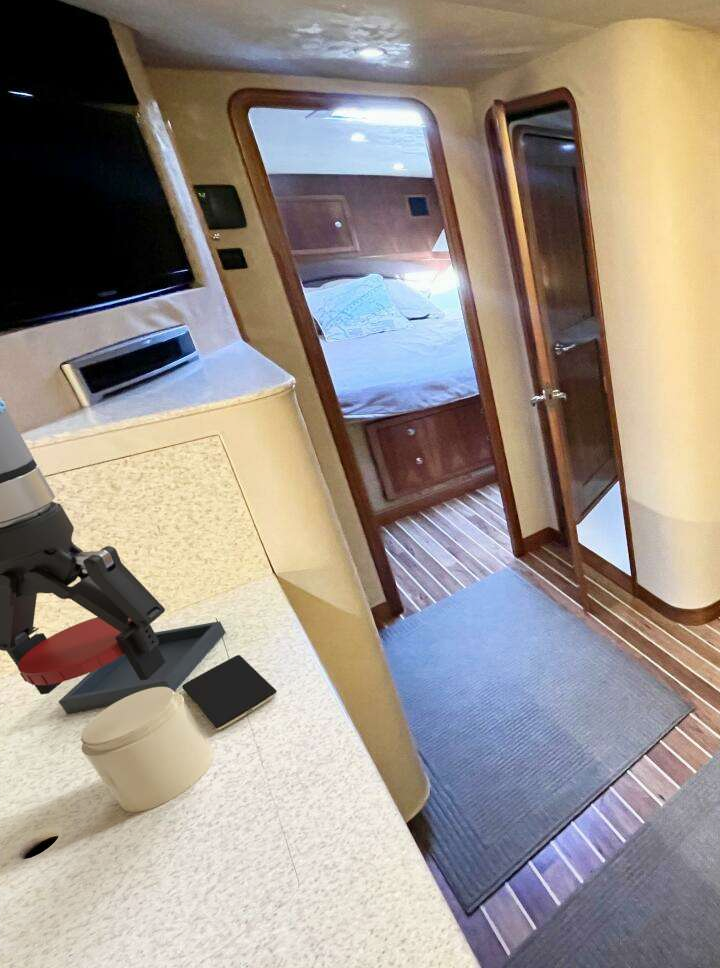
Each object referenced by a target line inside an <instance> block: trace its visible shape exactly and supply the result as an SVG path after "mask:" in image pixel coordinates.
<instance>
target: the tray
mask: <svg viewBox="0 0 720 968" xmlns="http://www.w3.org/2000/svg"><path fill="white" fill-rule="evenodd" d="M154 632H155V634H156V637H157V638H158V640H159V644H157V647H158V649H159V651H160V653H161V654H162V656H163V658H164V660H165V661H166V662H165V663H164V664H163V665H162V666H161V667H160V668H159V669H158V670H157V671H156V672H155V673H154V674H153V675H152V676H151V677H150V678H149V679H148V680H140V679H139V677H138V675H137V674H136V672H135V670H134V669H133V667H132V665H131V664H130V662H129V660H128V659H127V657H126V655H125V654H124V655H122V656H121V657H119V658H117V659H116V660H114V661H112V662H110V663H108V664H107V665H105V666H103V667H101V668H98V669H96V670H94V671H92V672H89V673H87V674H86V676H84V677H83V678H82V679H81V680H80V681H78V683H77V684H76V685H74V687H73V688H72V689H70V690H69V691H68V692H67V693H66V694H65V695H64V696H62V698H61V699H59V700H58V703H59V705H60V706H61V708H62V709H63V710H64V712H65V714H67V715H69V714H75V713H79V712H84V711H91V710H94V709H101V708H104V707H105V708H107V707H109V706H111V705H112V704H114V703H116V702H117V701H119V700H121V699H123V698H125V697H127V696H129V695H132V694H134V693H137V692H140V691H142V690H146V689H150V688H155V687H168V688H170V689H172V690H173V691H174V692H176V691H177V689H178V688H179V687H180V686H181V685H182V683H183V682H184V681H185V680H186V679H187V678H188V677H189V676H190V674H191V673H192V672H193V671H194V670H195V669H196V668H197V667H198V665H199V664H200V663H201V662H202V661H203V660H204V659H205V657H206V656H207V655H208V653H209V652H210V651H211V650H212V649H213V648H214V647H215V646H216V644H217V643H218V642H219V641H220V640H221V639H222V637H223V636H224V635H225V634H226V633H227V632H226V630H225V628H224V626H223V624H222V622H221V621H219V620H218V621H213V622H207V623H201V624H196V625H191V626H190V625H189V626H184V627H183V626H182V627H178V628H173V629H172V628H171V629H166V630H160V631H154Z"/></svg>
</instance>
